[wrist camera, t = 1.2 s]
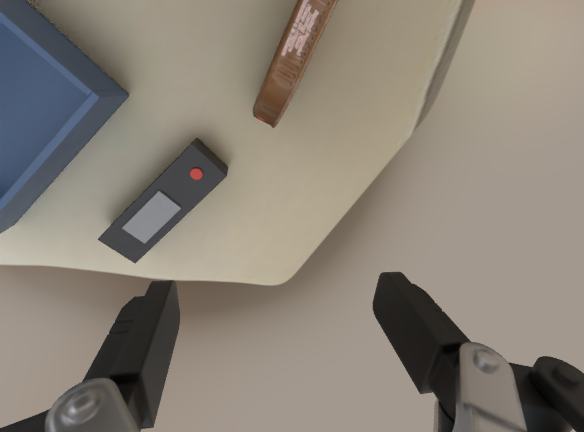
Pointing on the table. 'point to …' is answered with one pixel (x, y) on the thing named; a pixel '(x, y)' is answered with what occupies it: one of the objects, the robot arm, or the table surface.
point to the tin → (292, 58)
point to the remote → (165, 202)
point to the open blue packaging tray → (43, 105)
